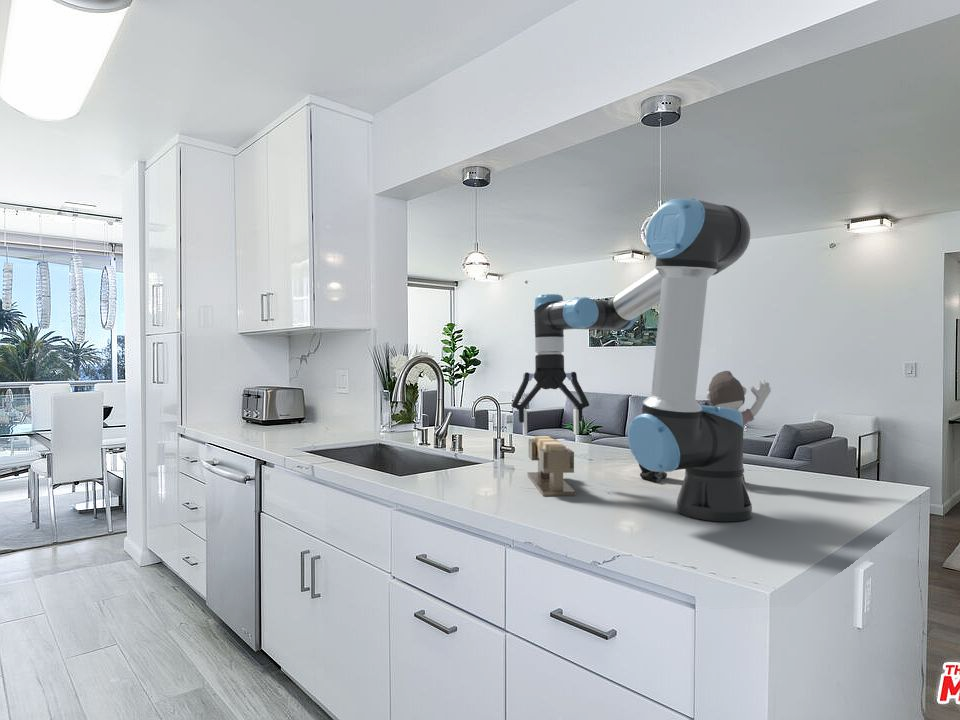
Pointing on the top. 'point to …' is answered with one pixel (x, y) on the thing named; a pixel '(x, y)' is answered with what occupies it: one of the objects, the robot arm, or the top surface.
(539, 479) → the bracket
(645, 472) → the figurine
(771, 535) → the top surface
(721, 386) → the figurine
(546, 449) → the rail
